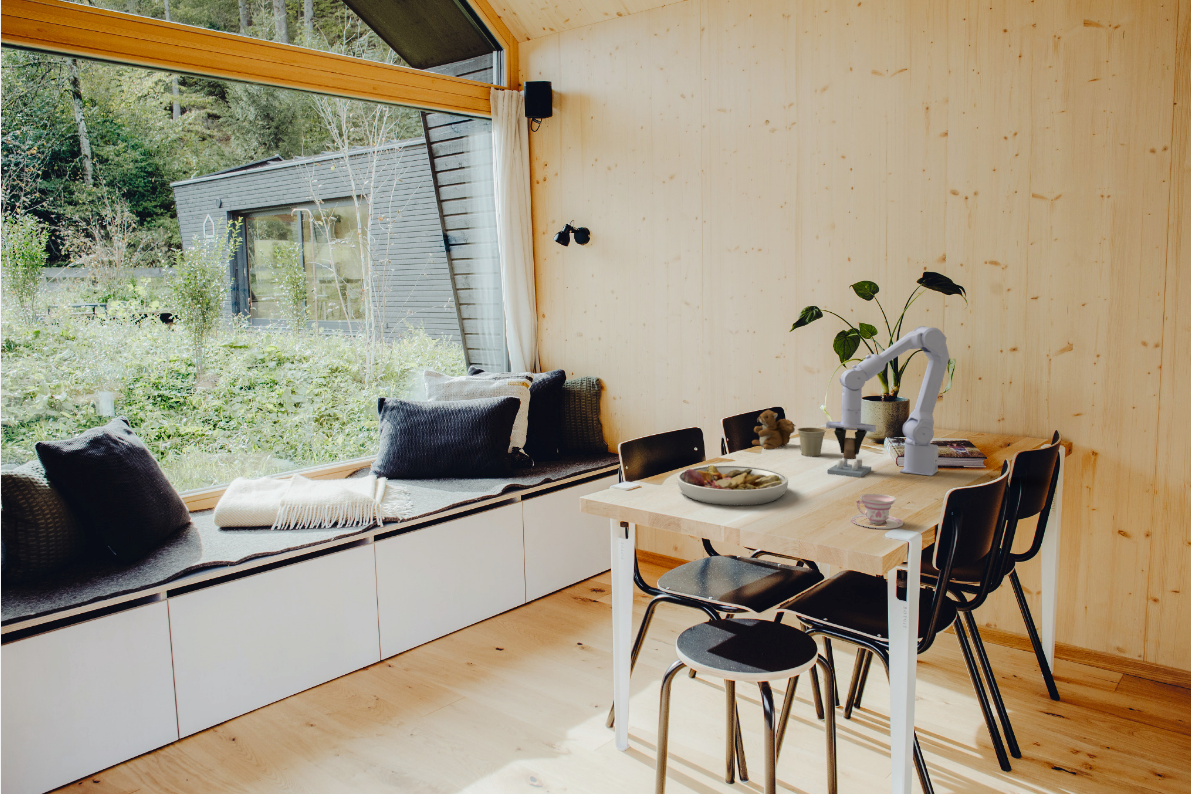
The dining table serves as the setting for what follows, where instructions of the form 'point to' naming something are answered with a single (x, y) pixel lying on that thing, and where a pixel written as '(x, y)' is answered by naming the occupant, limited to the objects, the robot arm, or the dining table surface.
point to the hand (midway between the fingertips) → (849, 453)
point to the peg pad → (849, 468)
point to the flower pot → (811, 440)
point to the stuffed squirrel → (773, 431)
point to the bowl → (732, 485)
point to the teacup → (878, 511)
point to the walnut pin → (849, 448)
